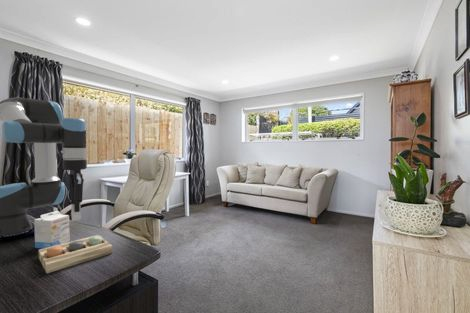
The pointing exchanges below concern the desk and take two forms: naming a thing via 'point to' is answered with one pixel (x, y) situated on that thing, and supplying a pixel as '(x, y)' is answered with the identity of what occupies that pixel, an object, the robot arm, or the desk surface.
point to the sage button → (95, 240)
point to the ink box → (51, 230)
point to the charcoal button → (75, 246)
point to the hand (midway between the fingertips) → (76, 219)
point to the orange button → (54, 251)
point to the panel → (74, 255)
